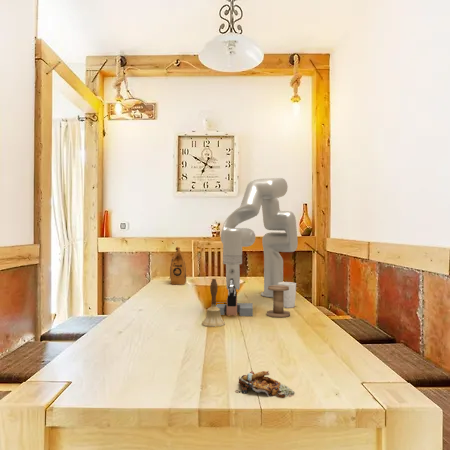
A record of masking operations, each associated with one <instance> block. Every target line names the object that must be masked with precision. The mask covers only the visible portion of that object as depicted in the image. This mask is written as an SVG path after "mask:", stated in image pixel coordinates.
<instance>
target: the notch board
mask: <svg viewBox="0 0 450 450" xmlns="http://www.w3.org/2000/svg"><path fill="white" fill-rule="evenodd" d="M253 305H254V304H253V302H246V303H245V302H237V313H239V316H240V317H253V316H254V314H253V312H254V310H253V309H254V306H253ZM216 307H217V308H219V309H220V314H221V315H224V316H225V315H226V313H227V304H217V305H216Z"/></svg>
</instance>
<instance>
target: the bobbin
mask: <svg viewBox="0 0 450 450" xmlns="http://www.w3.org/2000/svg"><path fill="white" fill-rule="evenodd" d="M268 289H269V290H273V297H272V300H273V301H272V305H273V307H272V310H267V311H266V316H268V317H271V318H280V319H281V318H283V319H284V318H289V317H290V316H291V312H290V311H288V310H285V308H284V291H287V290H289V287H288V286H283V285H271V286H268Z"/></svg>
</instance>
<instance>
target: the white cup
mask: <svg viewBox="0 0 450 450" xmlns="http://www.w3.org/2000/svg"><path fill="white" fill-rule="evenodd" d="M278 285H283V286H288V287H289V290H287V291H284V309H285V308H288V309H292V308H295V307H296V295H297V283H296V282H291V281H283V282H279V283H278Z"/></svg>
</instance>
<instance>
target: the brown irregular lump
mask: <svg viewBox="0 0 450 450" xmlns="http://www.w3.org/2000/svg"><path fill="white" fill-rule="evenodd" d="M269 375H270V372H269V370H267V371H266V370H263V371H258V372H256V373H255V372H254V371H253V370H250V371H249V372H248V373H247V375H246V374H243V375H242V376H240V377H238V384H239V385H240V387H241V389H242V390H241V391H240V390H238V389H235V390H234V392H235V393H236V394H243V395H246V394H247V393H248V389H249V388H251V390H253V391H255V393H265V394H266V395H267V396H268V397H269V398H272V397H276V398H280V399H286V398H292V397H294V394H295V390H293V389H292V388H290V387H288V386H287V385H286V384H283V383H281V382H279V381H278V380H275V379H273V378H271V377H268V376H269Z"/></svg>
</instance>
